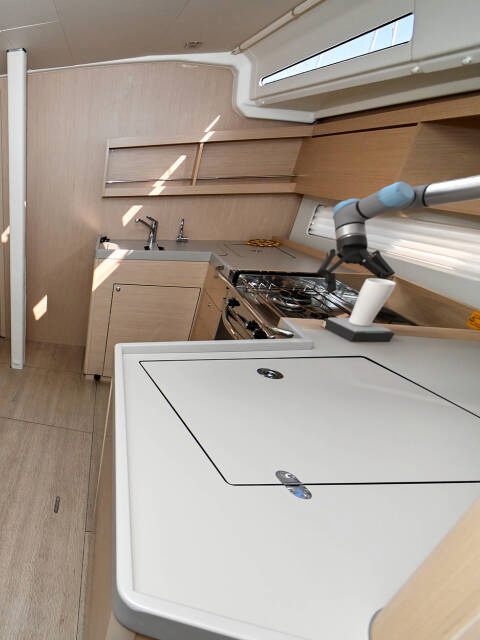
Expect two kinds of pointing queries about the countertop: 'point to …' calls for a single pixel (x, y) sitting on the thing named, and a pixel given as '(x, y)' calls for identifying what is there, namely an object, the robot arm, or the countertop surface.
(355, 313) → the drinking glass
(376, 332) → the kitchen scale
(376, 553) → the countertop surface
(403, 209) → the robot arm
